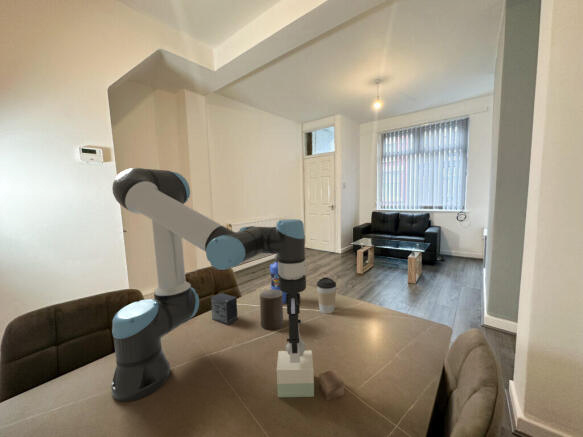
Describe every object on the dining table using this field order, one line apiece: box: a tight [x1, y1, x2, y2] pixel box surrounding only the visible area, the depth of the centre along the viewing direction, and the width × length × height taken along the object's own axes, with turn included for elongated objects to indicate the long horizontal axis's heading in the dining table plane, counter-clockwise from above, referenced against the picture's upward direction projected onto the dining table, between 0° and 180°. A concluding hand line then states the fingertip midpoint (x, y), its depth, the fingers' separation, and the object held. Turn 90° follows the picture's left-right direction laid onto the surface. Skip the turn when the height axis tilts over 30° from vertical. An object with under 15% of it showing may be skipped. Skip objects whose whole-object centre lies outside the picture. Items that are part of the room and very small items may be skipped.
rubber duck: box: [285, 333, 306, 357], centre depth 68 cm, size 5×7×8 cm
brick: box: [318, 369, 345, 401], centre depth 67 cm, size 5×5×4 cm
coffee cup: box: [316, 276, 337, 314], centre depth 114 cm, size 9×9×15 cm
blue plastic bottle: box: [269, 254, 288, 305], centre depth 125 cm, size 9×9×25 cm
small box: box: [210, 292, 239, 326], centre depth 109 cm, size 11×6×10 cm, turn 58°
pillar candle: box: [259, 289, 284, 331], centre depth 103 cm, size 10×10×15 cm
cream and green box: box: [276, 349, 315, 398], centre depth 69 cm, size 10×8×8 cm
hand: (295, 353), depth 69 cm, fingers closed on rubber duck, 6 cm apart
